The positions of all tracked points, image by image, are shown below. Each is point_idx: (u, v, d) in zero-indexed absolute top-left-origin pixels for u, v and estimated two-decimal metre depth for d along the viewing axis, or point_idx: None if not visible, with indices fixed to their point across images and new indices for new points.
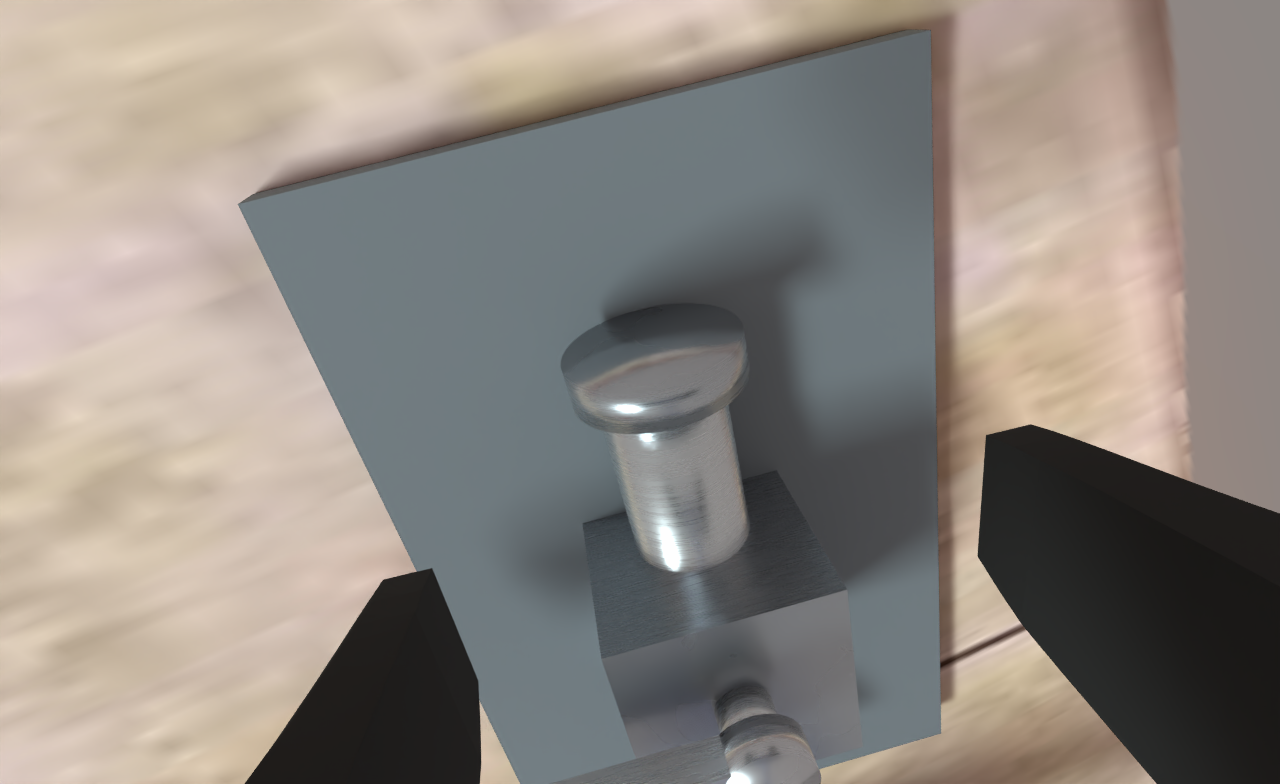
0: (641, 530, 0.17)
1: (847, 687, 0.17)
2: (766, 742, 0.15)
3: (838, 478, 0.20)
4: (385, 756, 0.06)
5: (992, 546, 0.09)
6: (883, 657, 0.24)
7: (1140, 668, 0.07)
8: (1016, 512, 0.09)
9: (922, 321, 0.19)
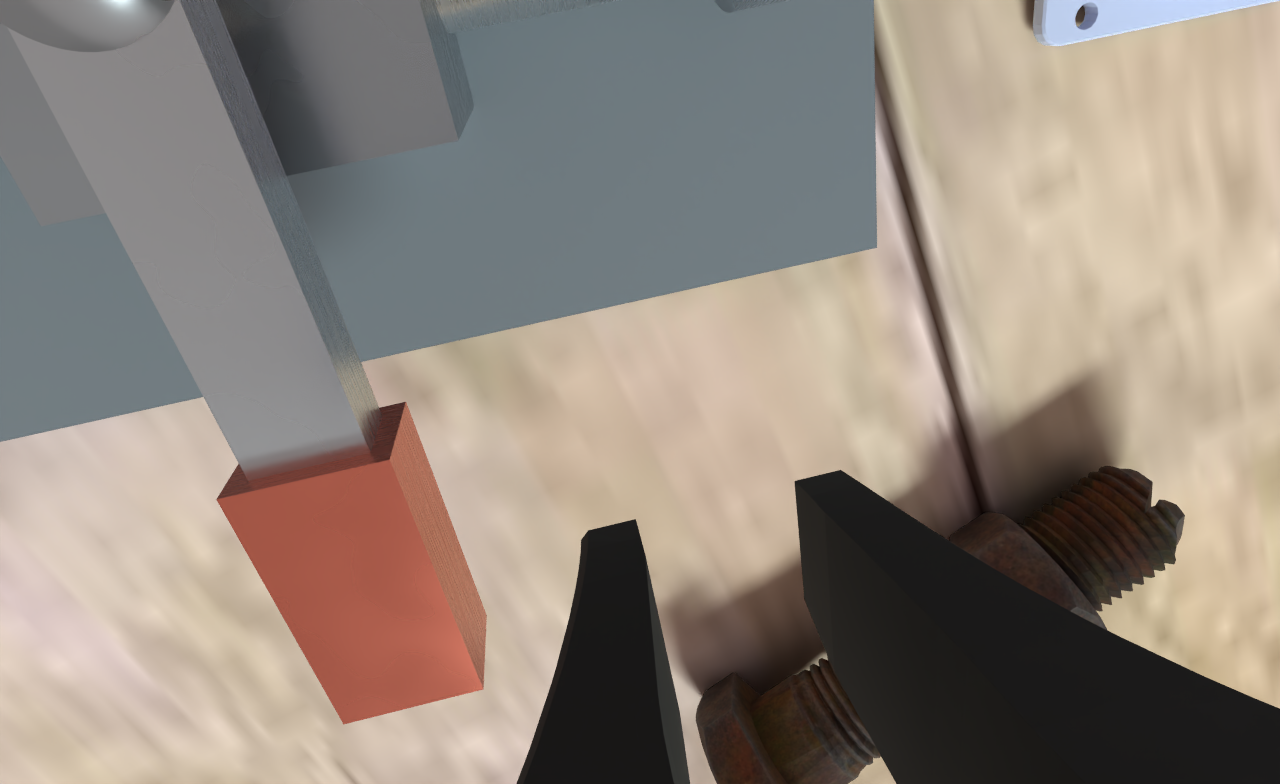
0: None
1: None
2: None
3: None
4: (661, 686, 0.06)
5: (811, 591, 0.09)
6: None
7: (907, 729, 0.07)
8: (819, 561, 0.09)
9: None
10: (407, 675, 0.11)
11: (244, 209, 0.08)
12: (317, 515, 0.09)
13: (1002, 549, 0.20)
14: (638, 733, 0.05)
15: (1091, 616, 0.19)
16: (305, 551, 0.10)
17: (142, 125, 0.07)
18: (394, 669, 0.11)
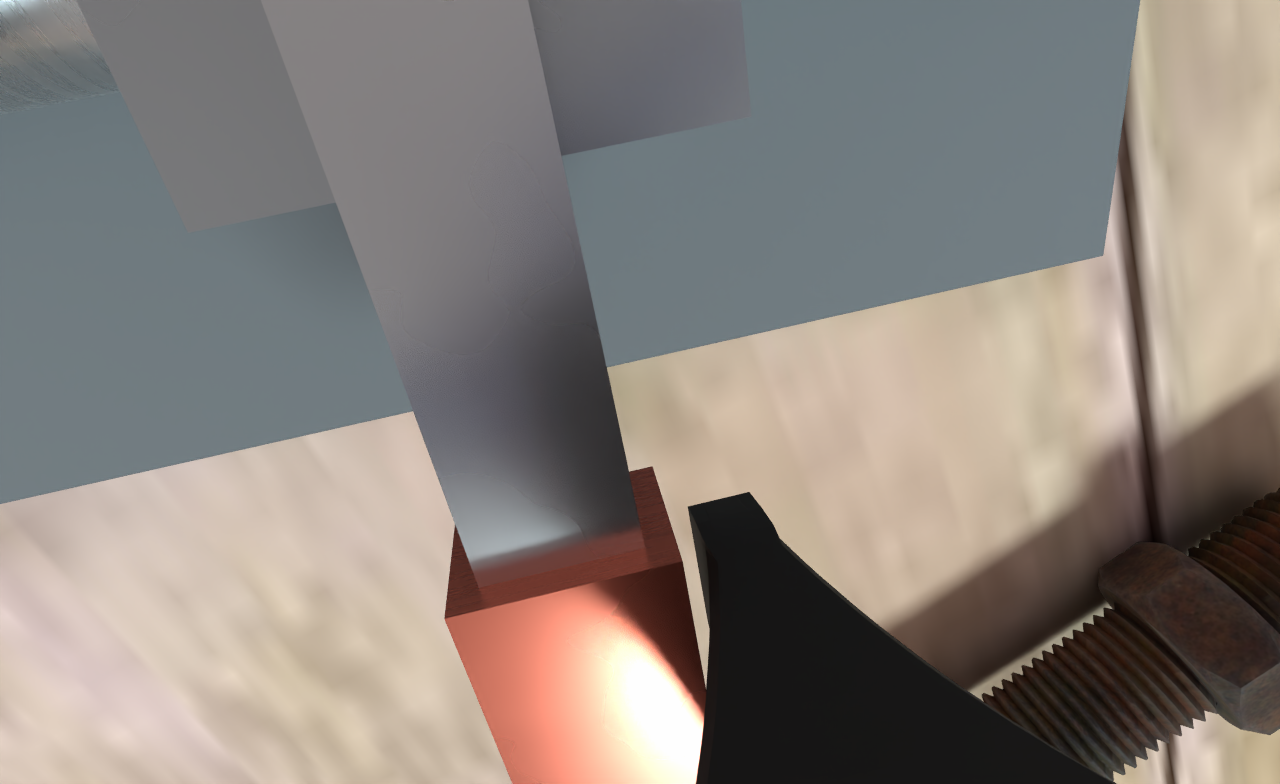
0: None
1: None
2: None
3: None
4: None
5: (709, 616, 0.09)
6: None
7: None
8: (709, 588, 0.08)
9: None
10: None
11: (540, 210, 0.05)
12: (573, 635, 0.07)
13: (1180, 591, 0.17)
14: (819, 687, 0.06)
15: None
16: (548, 681, 0.07)
17: (413, 78, 0.05)
18: None
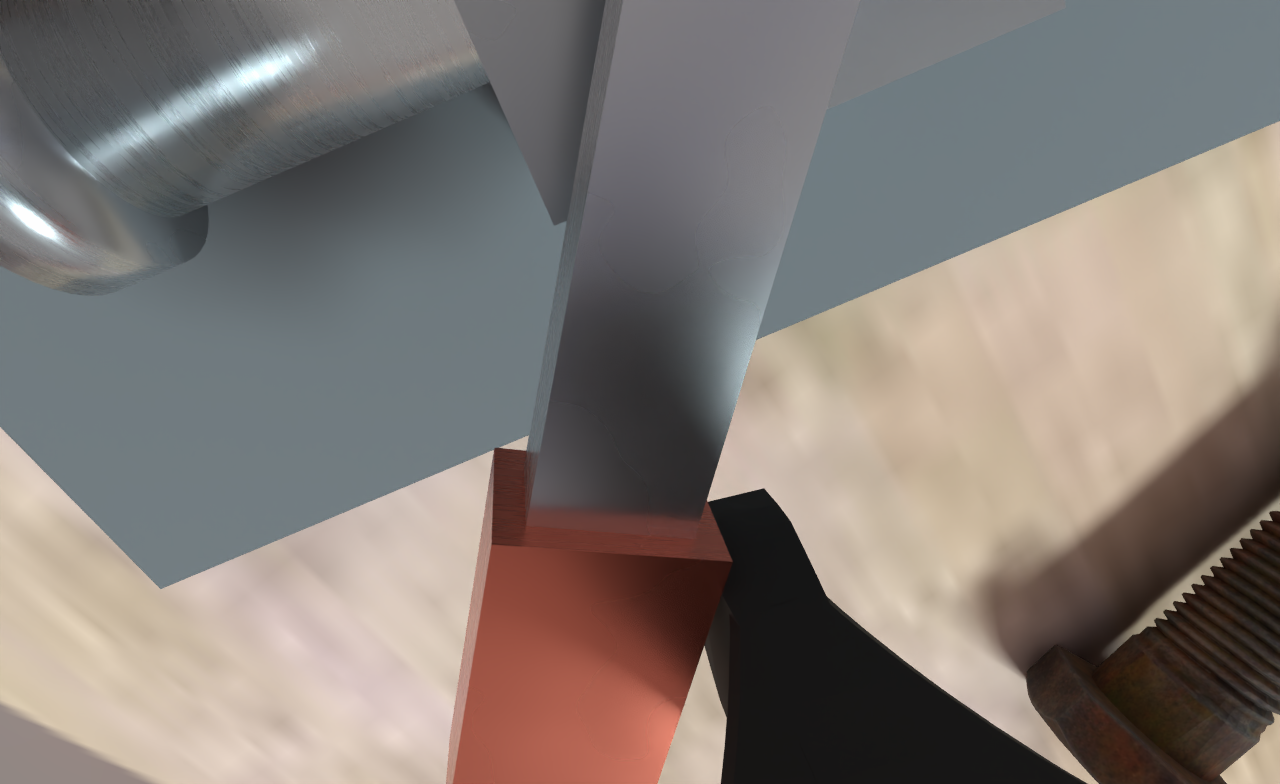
0: (408, 96, 0.09)
1: None
2: None
3: None
4: None
5: None
6: None
7: None
8: None
9: None
10: None
11: (772, 185, 0.05)
12: (600, 602, 0.07)
13: None
14: (842, 680, 0.06)
15: None
16: (552, 642, 0.07)
17: (731, 20, 0.05)
18: None
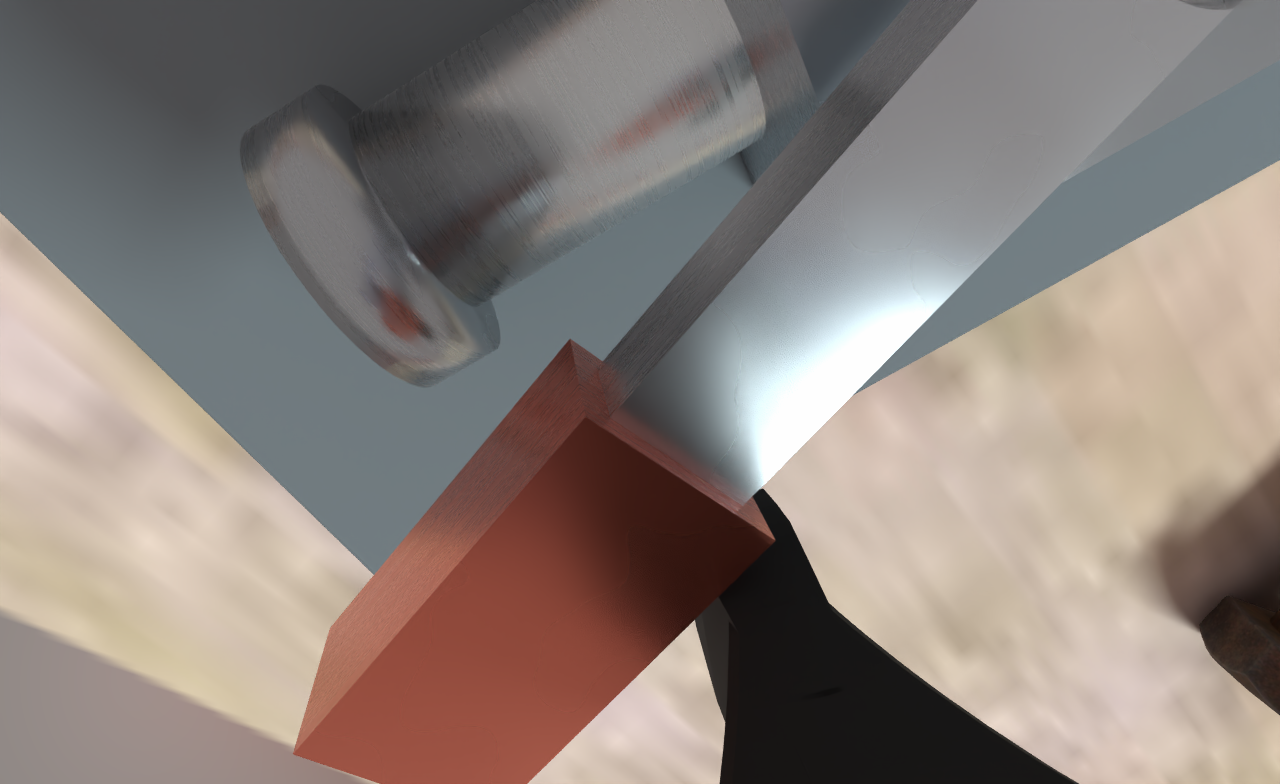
0: (693, 172, 0.10)
1: None
2: None
3: None
4: None
5: (697, 619, 0.09)
6: None
7: None
8: None
9: None
10: (447, 753, 0.07)
11: (1003, 207, 0.06)
12: (640, 526, 0.06)
13: None
14: (841, 681, 0.06)
15: None
16: (570, 548, 0.06)
17: (1062, 44, 0.05)
18: (444, 736, 0.07)
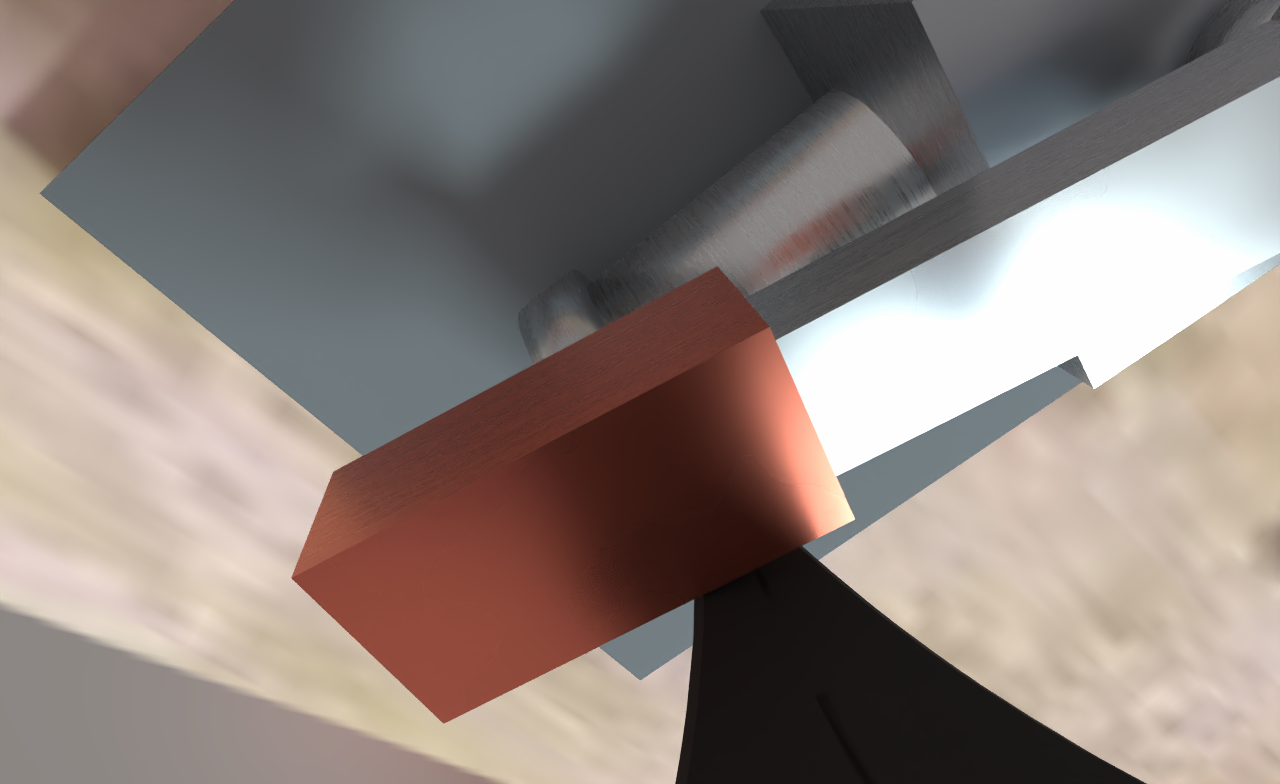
0: None
1: None
2: None
3: None
4: None
5: None
6: None
7: None
8: None
9: None
10: (445, 632, 0.06)
11: (1159, 290, 0.06)
12: (753, 458, 0.06)
13: None
14: (800, 691, 0.06)
15: None
16: (683, 455, 0.06)
17: (1265, 171, 0.06)
18: (454, 613, 0.06)
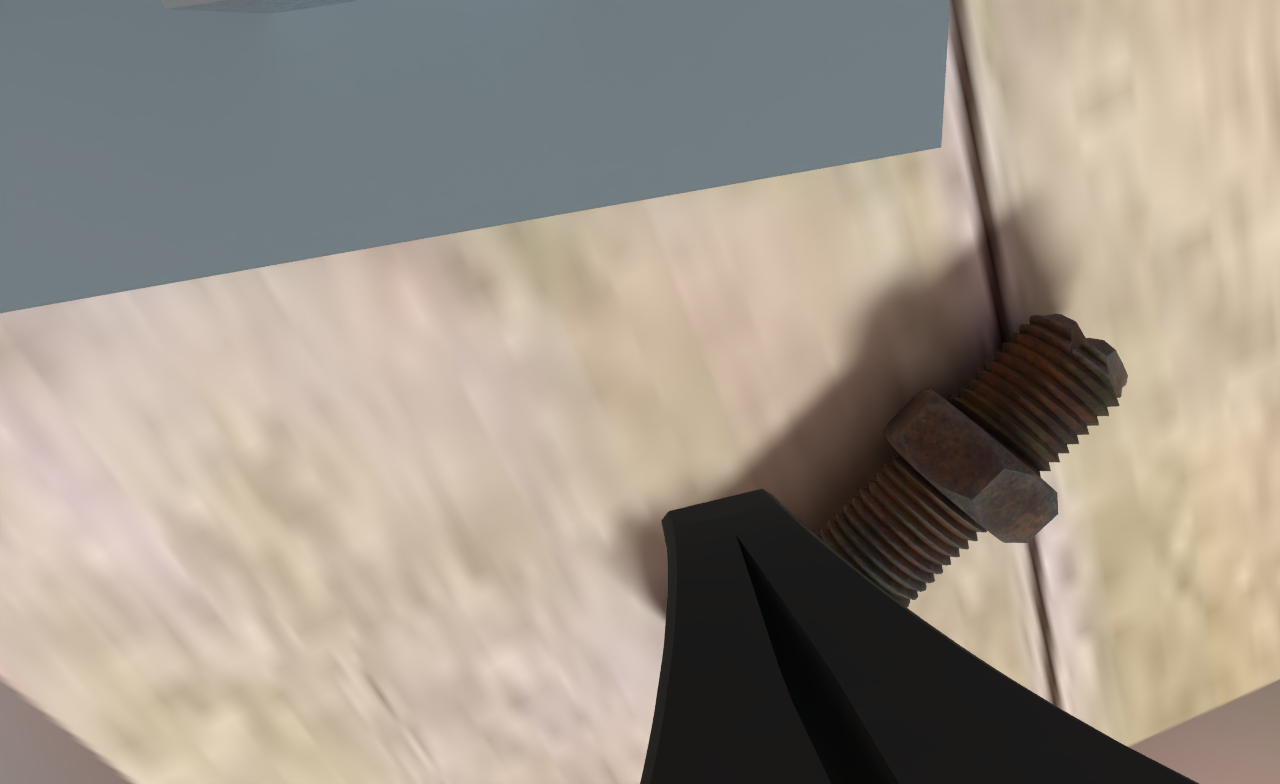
0: None
1: None
2: None
3: None
4: None
5: None
6: None
7: None
8: None
9: None
10: None
11: None
12: None
13: (925, 425, 0.19)
14: (766, 700, 0.06)
15: (1026, 476, 0.18)
16: None
17: None
18: None
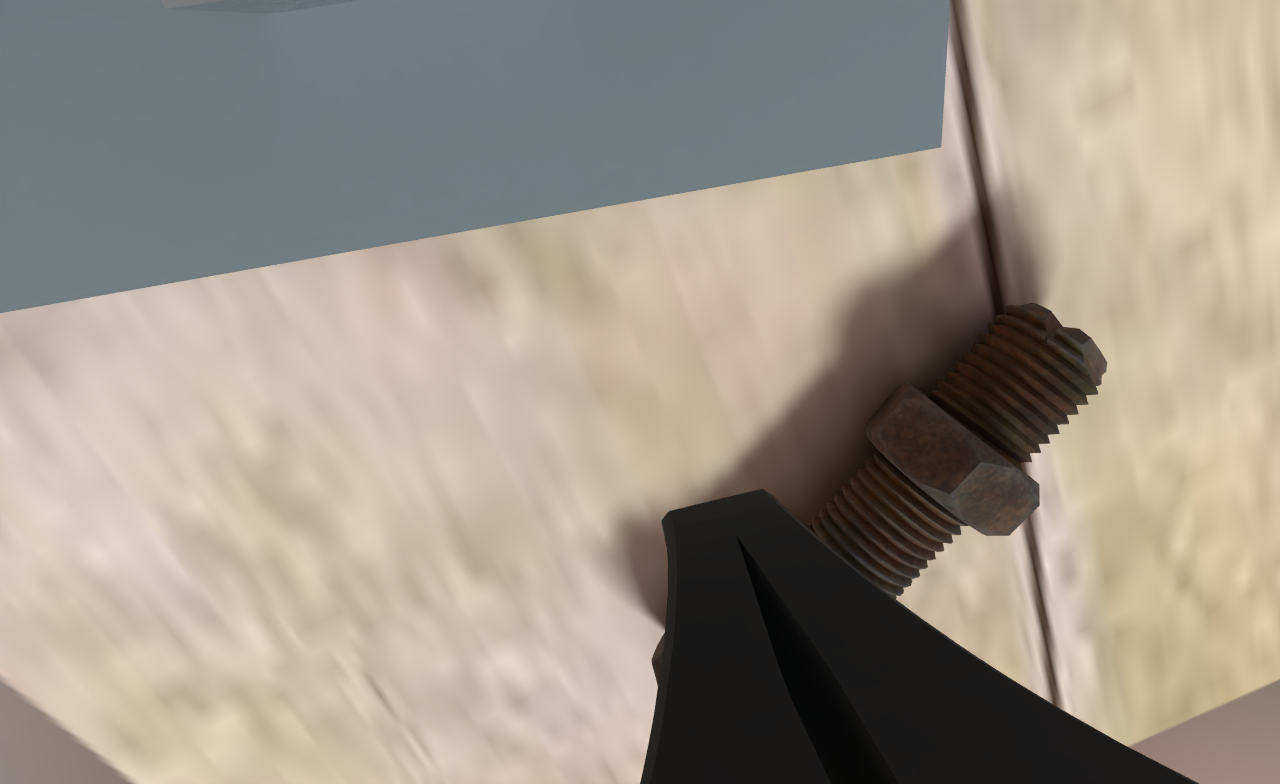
0: None
1: None
2: None
3: None
4: None
5: None
6: None
7: None
8: None
9: None
10: None
11: None
12: None
13: (902, 420, 0.19)
14: (766, 700, 0.06)
15: (1003, 469, 0.18)
16: None
17: None
18: None
